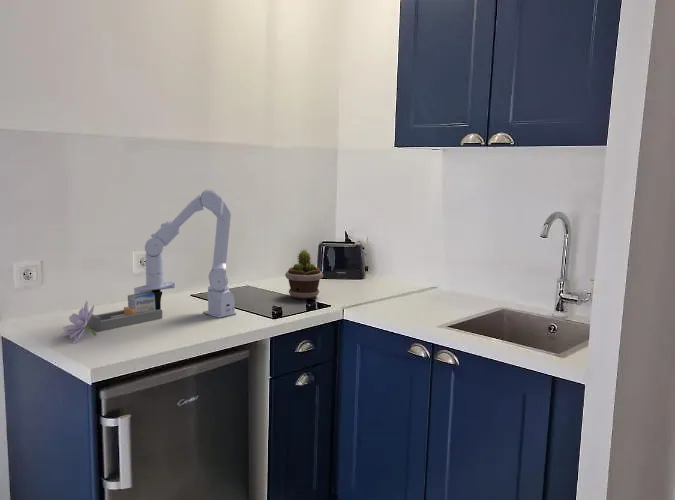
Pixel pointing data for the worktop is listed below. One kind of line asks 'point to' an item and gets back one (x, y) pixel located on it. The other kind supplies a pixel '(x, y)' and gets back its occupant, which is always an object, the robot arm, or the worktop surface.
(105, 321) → the gray tray
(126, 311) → the pusher
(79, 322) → the water lily
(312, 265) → the flowerpot
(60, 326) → the worktop surface
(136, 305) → the medicine box
